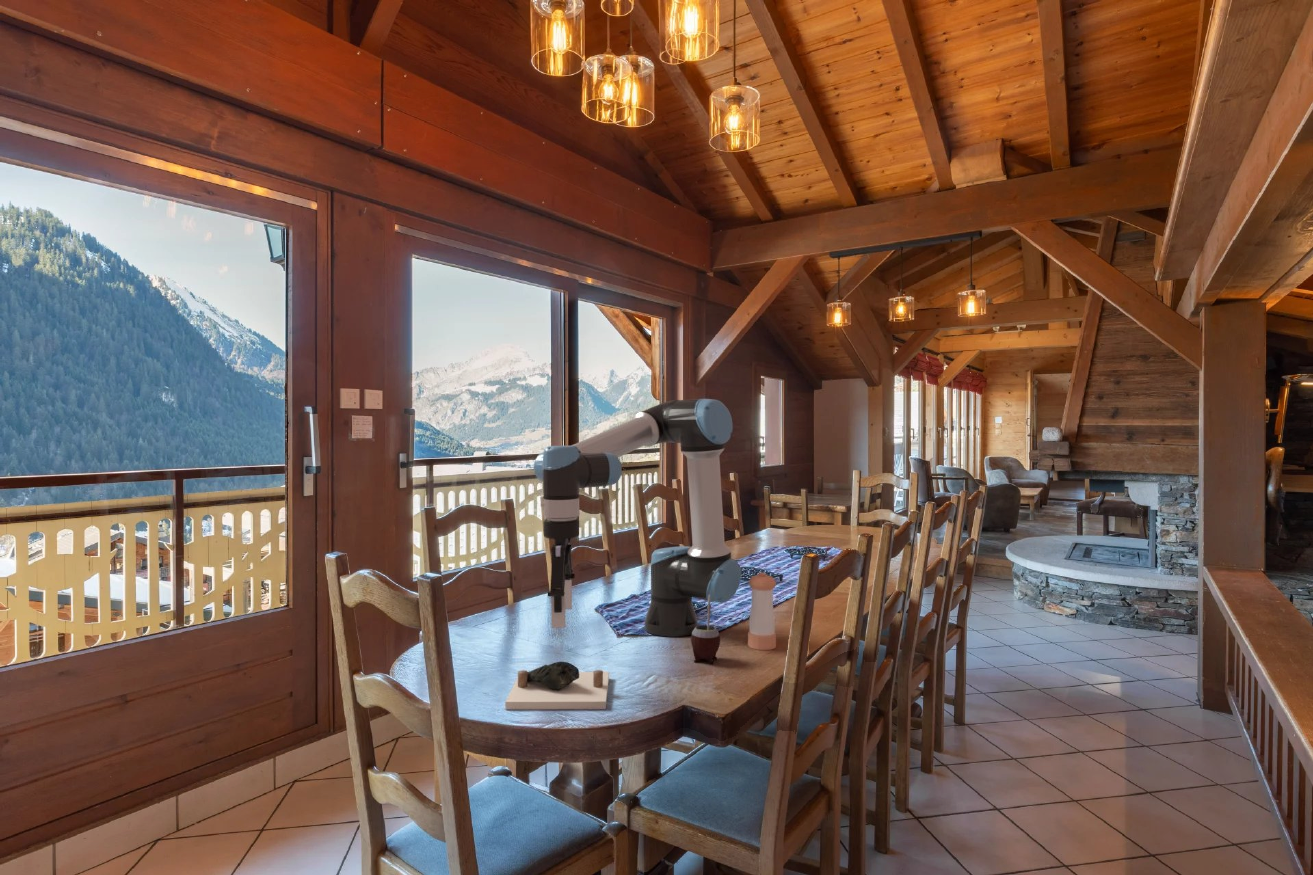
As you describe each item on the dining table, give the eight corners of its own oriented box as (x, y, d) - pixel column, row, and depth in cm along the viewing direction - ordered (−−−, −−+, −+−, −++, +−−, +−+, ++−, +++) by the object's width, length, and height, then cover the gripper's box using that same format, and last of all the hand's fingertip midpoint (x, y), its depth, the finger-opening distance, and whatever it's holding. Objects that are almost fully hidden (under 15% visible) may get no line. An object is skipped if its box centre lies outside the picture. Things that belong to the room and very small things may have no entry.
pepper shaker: (779, 643, 180) (779, 571, 180) (771, 651, 173) (772, 576, 173) (752, 640, 183) (753, 568, 183) (744, 647, 176) (744, 573, 176)
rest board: (609, 678, 154) (609, 658, 153) (605, 708, 137) (605, 686, 136) (519, 678, 153) (520, 658, 153) (505, 709, 136) (505, 686, 136)
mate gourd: (700, 667, 161) (701, 604, 161) (683, 657, 168) (684, 596, 168) (726, 662, 165) (727, 600, 165) (709, 653, 172) (710, 593, 172)
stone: (533, 675, 151) (533, 651, 151) (586, 683, 146) (585, 658, 146) (515, 686, 145) (515, 661, 145) (570, 694, 140) (569, 669, 140)
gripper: (551, 510, 157) (551, 602, 157) (534, 527, 132) (535, 636, 132) (583, 510, 157) (584, 602, 158) (573, 527, 132) (574, 635, 133)
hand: (562, 617), depth 145 cm, fingers open, 13 cm apart
